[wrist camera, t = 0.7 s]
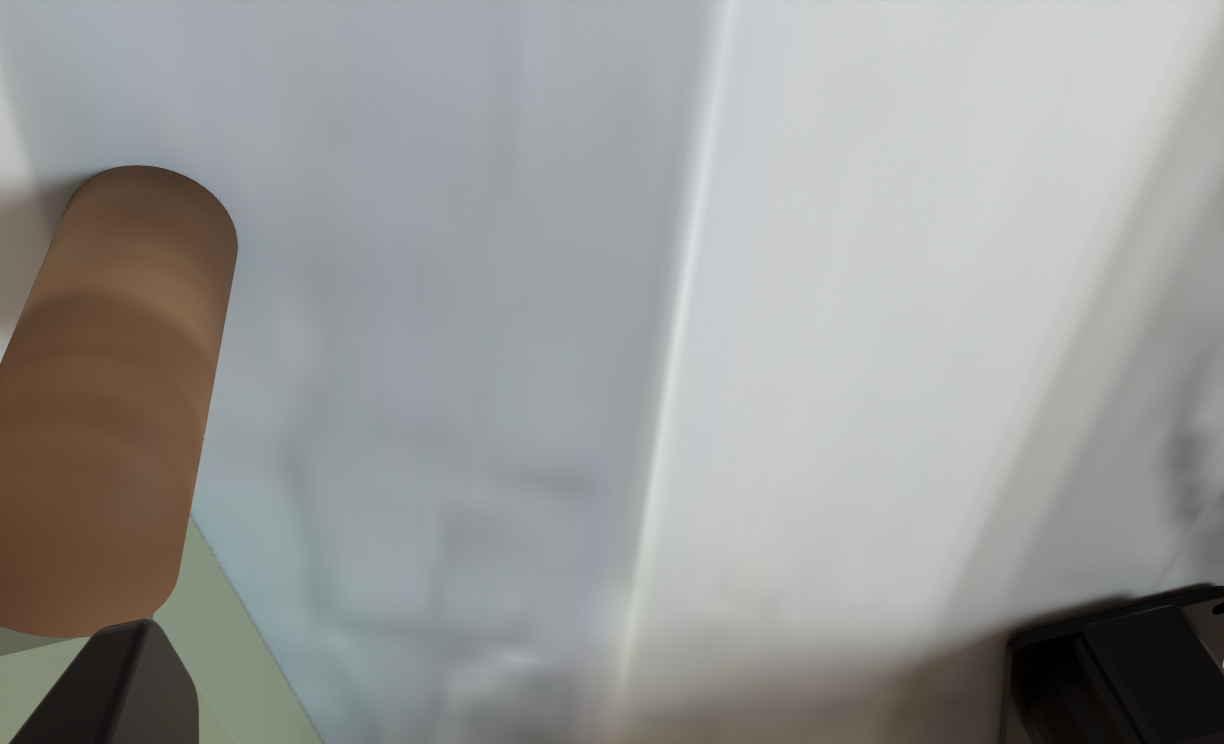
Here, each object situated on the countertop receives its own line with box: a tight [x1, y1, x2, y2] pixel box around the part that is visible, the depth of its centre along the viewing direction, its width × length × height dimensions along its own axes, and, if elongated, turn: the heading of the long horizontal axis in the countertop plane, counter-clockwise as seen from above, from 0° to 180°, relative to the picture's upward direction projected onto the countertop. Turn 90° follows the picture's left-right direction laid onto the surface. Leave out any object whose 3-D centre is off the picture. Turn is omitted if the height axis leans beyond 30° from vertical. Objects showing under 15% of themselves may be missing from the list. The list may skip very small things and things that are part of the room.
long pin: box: [0, 166, 238, 638], centre depth 18 cm, size 3×3×8 cm
